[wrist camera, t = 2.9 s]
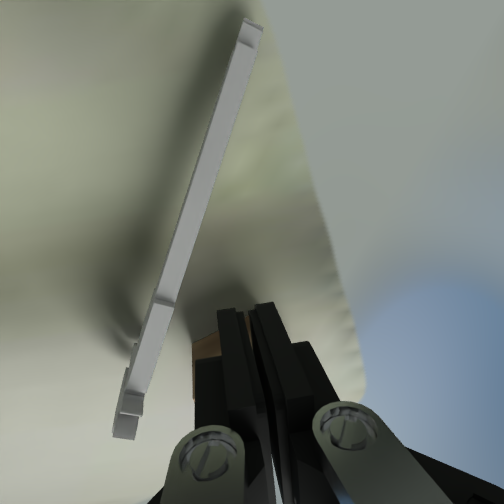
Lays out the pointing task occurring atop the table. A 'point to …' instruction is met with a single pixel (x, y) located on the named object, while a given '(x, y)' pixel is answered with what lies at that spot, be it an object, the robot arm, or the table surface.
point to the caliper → (185, 232)
